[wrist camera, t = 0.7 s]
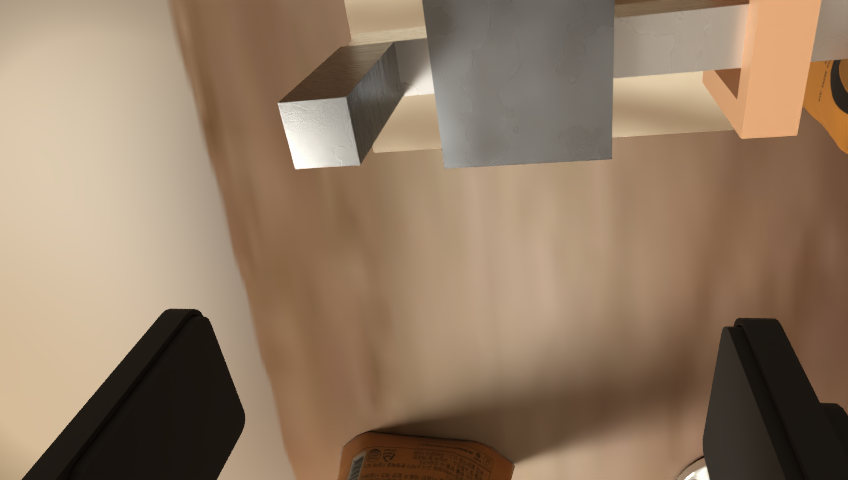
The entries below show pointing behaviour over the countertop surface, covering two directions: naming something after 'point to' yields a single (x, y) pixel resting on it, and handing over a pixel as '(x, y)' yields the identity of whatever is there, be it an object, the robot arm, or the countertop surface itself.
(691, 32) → the l-shaped metal bar
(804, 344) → the countertop surface
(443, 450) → the pancake mix bag
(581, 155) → the metal block
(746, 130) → the collar
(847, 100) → the coffee package
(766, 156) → the countertop surface
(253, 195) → the countertop surface
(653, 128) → the board
